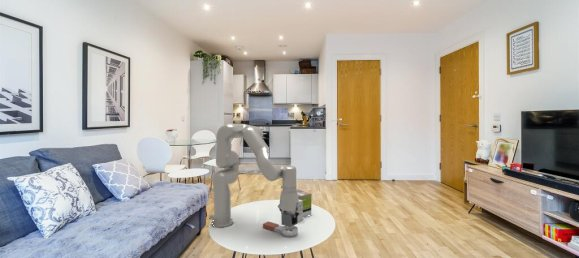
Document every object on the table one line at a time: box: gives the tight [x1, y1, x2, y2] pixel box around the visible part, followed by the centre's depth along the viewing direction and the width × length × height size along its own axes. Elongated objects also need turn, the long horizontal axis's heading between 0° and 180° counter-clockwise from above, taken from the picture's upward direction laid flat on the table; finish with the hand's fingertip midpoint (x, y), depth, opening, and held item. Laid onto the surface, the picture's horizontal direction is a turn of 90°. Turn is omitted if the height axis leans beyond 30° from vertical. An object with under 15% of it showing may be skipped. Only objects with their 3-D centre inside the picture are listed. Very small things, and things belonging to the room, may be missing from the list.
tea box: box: [296, 188, 312, 218], centre depth 172 cm, size 15×10×15 cm, turn 38°
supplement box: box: [297, 200, 304, 223], centre depth 160 cm, size 7×7×13 cm
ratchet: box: [262, 221, 299, 239], centre depth 145 cm, size 22×9×6 cm, turn 54°
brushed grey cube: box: [280, 211, 299, 227], centre depth 141 cm, size 6×6×6 cm
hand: (289, 222), depth 141 cm, fingers closed on brushed grey cube, 6 cm apart
